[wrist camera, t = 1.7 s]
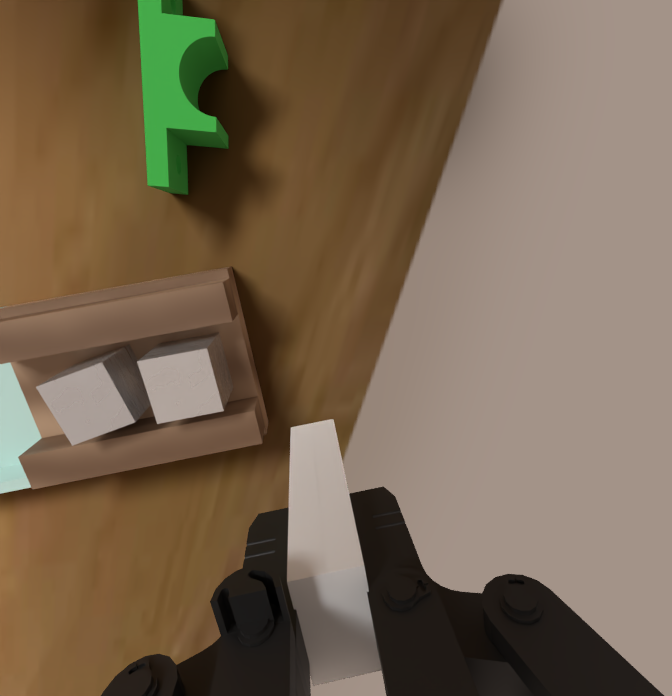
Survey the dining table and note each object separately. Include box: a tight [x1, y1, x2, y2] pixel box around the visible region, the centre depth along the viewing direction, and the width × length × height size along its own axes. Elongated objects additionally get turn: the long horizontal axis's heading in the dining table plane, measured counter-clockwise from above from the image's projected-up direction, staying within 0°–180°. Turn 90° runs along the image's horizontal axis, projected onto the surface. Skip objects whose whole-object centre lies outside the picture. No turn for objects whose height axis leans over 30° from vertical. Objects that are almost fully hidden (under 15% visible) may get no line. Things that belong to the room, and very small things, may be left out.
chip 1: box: [36, 344, 151, 446], centre depth 25 cm, size 4×4×4 cm
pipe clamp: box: [138, 0, 228, 194], centre depth 23 cm, size 11×4×5 cm, turn 176°
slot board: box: [0, 267, 268, 490], centre depth 27 cm, size 12×15×4 cm
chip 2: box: [137, 333, 233, 424], centre depth 26 cm, size 4×4×4 cm
